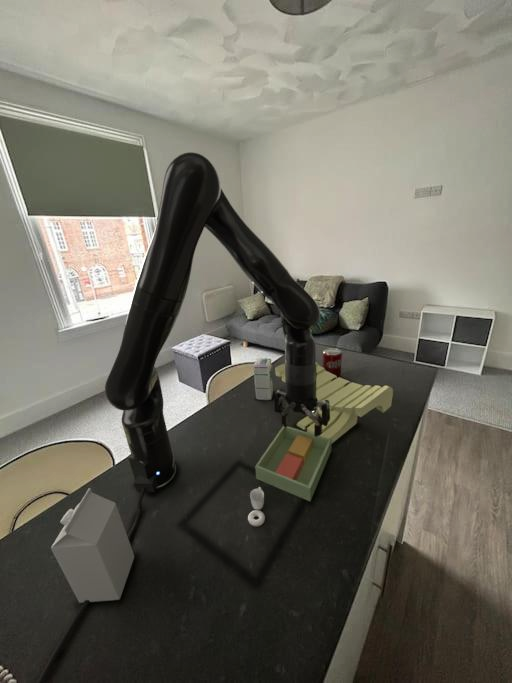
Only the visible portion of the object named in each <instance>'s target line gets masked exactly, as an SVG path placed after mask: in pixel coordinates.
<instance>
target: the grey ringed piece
mask: <svg viewBox="0 0 512 683" xmlns="http://www.w3.org/2000/svg"><path fill="white" fill-rule="evenodd" d="M249 498H250V503H251V506H252V508H253V509H254V510H252V511H250V512H249V514H248V515H247V521H248V523H249V525H250V526H253V527H260V526H262V525H263V524H264V523H265V521H266V516H265V513H264V512H263V511H262V510H261V509H262V508H263V507H264V505H265V492H264V491H263V489H262V487H261V486H258V488H254V489H252V490H251V491H250V493H249ZM255 517H258V519H255Z"/></svg>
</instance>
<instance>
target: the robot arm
mask: <svg viewBox="0 0 512 683" xmlns="http://www.w3.org/2000/svg"><path fill="white" fill-rule="evenodd" d="M163 177H164V178H163V184H162V190H161V196H160V203H159V207H158V208H159V209H158V214H157V219H156V223H155V229H154V232H153V235H152V237H151V241H150V243H149V246H148V248H147V251H146V252H145V256H144V259H143V262H142V264H141V267H140V270H139V274H138V276H137V279H136V282H135V286H134V290H133V294H132V296H131V301H130V305H129V310H128V313H127V316H126V321H125V325H124V329H123V335H122V339H121V343H120V347H119V350H118V353H117V355H116V357H115V360H114V363H113V364H112V367H111V370H110V372H109V374H108V376H107V378H106V382H105V384H104V394H105V397H106V399H107V401H108V403H109V404H110V405H111V407H113V408H115V409H117V410H119V411H122V414H121V425H122V429H123V432H124V434H125V438H126V442H127V446H128V449H129V452H130V454H129V455H128V456H127V459H128V462H129V465H130V468H131V473H132V475H133V478H134V483H133V484H134V487H135V488H134V489H135V491H136V492H138V493H139V492H140V493H139V496H138V500H137V512H136V516H135V520H134V522H133V525H132V526H131V528H130V531H129V532H128V534H127V537H128V540H129V541H130V540H131V538H133V535H134V533H135V531H136V529H137V527H138V524H139V521H140V518H141V515H142V510H143V498H144V495H145V493H150V494H154V493H155V492H156V491H159V490H161V489H163V488H165V487H167V486H169V484H170V483H172V482H173V481H174V479H175V477H176V474H177V466H176V464H175V459H176V457H175V455H174V454H173V451H172V450H173V449H172V446H171V441H170V437H169V433H168V429H167V424H166V420H165V415H164V397H163V392H162V385H161V381H160V376H159V372H158V370H157V368H156V366H155V364H156V362H157V359H158V356H159V355H160V352H161V350H162V349H163V347H164V346H165V343H166V342H167V341H168V338H169V336H170V335H171V332H172V331H173V328H174V326H175V324H176V321H177V320H178V318H179V315H180V312H181V309H182V306H183V303H184V301H185V297H186V294H187V292H188V287H189V283H190V278H191V273H192V267H193V262H194V255H195V252H196V249H197V246H198V243H199V240H200V239H201V236H202V234H203V232H204V229H206V230H207V231H209V233H211V235H213V237H215V238H216V239H217V241H218V242H219V243H220V245H222V246H223V248H224V249H225V251H227V253H228V254H229V255H230V256H231V258H232V259H233V260H234V262H235V263H236V265H237V266H238V267H239V269H240V270H241V271H242V272H243V273H244V274H245V276H246V277H247V278H248V279H249V281H250V282H252V284H253V285H254V286H255V287H256V288H257V289H258V291H260V293H262V295H263V296H264V297H266V298H267V299H268V300H269V301H270V302H271V303H272V304H273V305H274V306H275V307H276V308H277V310H278V311H279V312H280V321H281V326H282V333H283V337H284V355H285V357H284V358H285V359H284V360H285V362H284V363H285V382H284V384H285V385H284V386H285V392H284V391H283V389H281V388H279V389H278V390H277V391H276V392H275V393H274V394H273V396H274V397H273V398H274V399H273V400H274V401H273V402H274V407H273V408H274V409H273V410H274V412H275V413H279V414H280V416H281V424H282V425H283V426H284V427H286V428H287V426H288V427H289V425H290V412H291V411H293V412H294V413H300V414H302V415H306V416H308V417H309V418H310V419H312V420H313V422H314V423H315V425H314V436H316V437H318V435H320V434H321V432H322V425H324V426H327V424H328V422H329V420H330V406H329V401H328V400H325V401H318V399H317V397H316V377H317V372H316V341H315V337H313V334H312V332H311V330H312V329H314V328H315V327H316V326H317V325H318V323H319V322H320V318H321V310H320V307H319V305H318V302H316V300H315V299H314V298H313V297H312V296H311V295H310V294H309V293H308V292H307V291H306V290H305V288H304V287H303V286H302V285H301V284H299V282H297V280H296V279H295V278H294V277H293V276H292V275H291V273H290V272H289V270H288V269H287V268H286V266H285V265H284V264H283V263H282V261H281V260H280V259H279V258H278V257H277V256H276V254H275V253H274V251H272V250H271V249H270V247H268V245H267V244H266V243H265V242H264V241H263V240H262V239H261V238H260V237H259V236H258V235H257V234H256V233H255V232H254V231H253V230H252V229H251V228H250V227H249V226H248V225H247V223H246V222H245V221H244V220H243V219H242V218H241V217H240V215H239V214H238V212H237V211H236V210H235V208H234V207H233V205H232V204H231V202H230V200H229V199H228V197H227V196H226V194H225V192H224V190H223V189H222V186H221V180H220V176H219V174H218V171H217V169H216V167H215V165H213V163H212V162H211V161H210V160H209V159H208V158H207V157H205V156H204V155H202V154H200V153H198V152H191V151H187V152H183V153H181V154H179V155H178V156H176V157H175V158H173V160H171V161H170V163H169V165H168V166H167V168H166V171H165V174H164V176H163ZM283 399H284V400H285V401H286V403H287V405H286V406H283ZM318 407H319V408H320V411H322V416H321V415H320V414H319V411H318V409H317V408H318ZM90 603H91V602H90V601H89V600H85V601H84V603H81V605H80V607H79V609H78V611H77V612H76V614H74V617H73V619H72V620H71V622H70V623H69V625H68V626H67V627H66V628H67V629H66V630H65V632H64V634H63V635H62V637H61V638H60V641H59V642H58V644H57V645H56V647H55V649H54V650H53V652H52V653H51V656H50V657H49V659H48V660H47V663H46V665H45V667H44V668H43V669H42V671H41V673H40V675H39V677H38V679H37V681H36V683H45V680H46V678H47V676H48V674H49V673H50V671H51V669H52V667H53V665H54V663H55V662H56V659H58V657H59V654H60V652H61V651H62V649H63V647H64V645H65V644H66V642H67V640H68V638H69V637H70V636H71V634H72V631H73V630H74V628H75V627H76V625H77V623H78V622H79V620H80V619H81V617H82V615H83V614H84V612H85V610H86V609H87V607H88V605H89V604H90Z"/></svg>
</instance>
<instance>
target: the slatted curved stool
mask: <svg viewBox="0 0 512 683" xmlns="http://www.w3.org/2000/svg"><path fill="white" fill-rule="evenodd" d="M315 362H316V361H315ZM274 369H275V376H276V377H278V378H281V382H282V383H285V362H283V363H282V364H279V365H278V366H275V368H274ZM316 372H317V377H316V397H317V399H318V401H325V400H328V401H329V406H330V420H329V422H328V424H327V426H324V425H322V432H321V434H320V435H318V436H321V437H325V438H328V439H331V440H332V442H331V445H332V444H333V443H335V442H336V441H337V440H338V439H340V438H341V437H342V436H343V435H344V434H346V433H347V432H348V431H349V430H350V429H352V428H353V427H354V426H355V425H357V423H358V417H360V418H362V417H363V416H365V415H366V414H368V413H369V412H371V411H372V410H374V409H375V408H376V409H377V410H379V411H380V412H381V413H385V412H386V411H388V410H389V409H390V408H391V407H392V403H393V396H394V389H393V387H392V386H390V385H384V386H380V385H377V384H376V385H374V386H372V385H369V384H365V385H363V384H360V383H356V382H352V381H351V382H350V381H349V380H347V379H345V378H342V377H341V378H340V377H338V378H337V376H336V375H334V374H332V373H329V372H327V371H325V368H323V366H321V365H319V363H318V362H316ZM317 409H318V411H319V414H320V415H321V416H322V411H320V408H319V406H317ZM314 425H315V423H314V422H313V420H312V419H310V418H309V417H308V415H306V416H305V417H304V418H302V419H300V420H299V421H298V422H297V423H296V426H297V427H298V428H300V429H302V431H306V432H308V433H311V434H314Z"/></svg>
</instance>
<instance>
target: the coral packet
mask: <svg viewBox="0 0 512 683" xmlns="http://www.w3.org/2000/svg"><path fill="white" fill-rule="evenodd" d="M302 468H303V463H302V459H301V458H298V457H295V456H293V455H290V454H286V455H285V457H284V459H283V460H282V462H281V464H280V466H279V467H278V469H277V471H276V472H275V473H278V474H280V475H283V476H285V477H288V478H290V479H293V480H297V478H298V476H299V474H300V472H301V470H302Z"/></svg>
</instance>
